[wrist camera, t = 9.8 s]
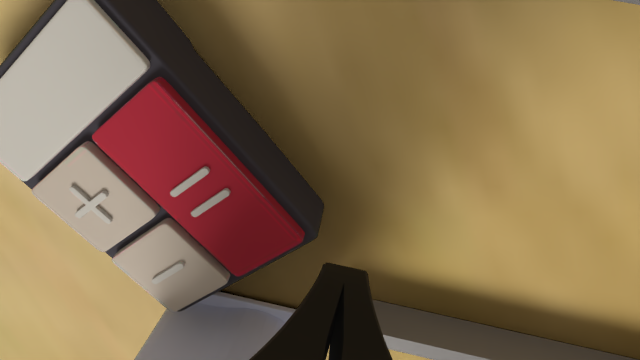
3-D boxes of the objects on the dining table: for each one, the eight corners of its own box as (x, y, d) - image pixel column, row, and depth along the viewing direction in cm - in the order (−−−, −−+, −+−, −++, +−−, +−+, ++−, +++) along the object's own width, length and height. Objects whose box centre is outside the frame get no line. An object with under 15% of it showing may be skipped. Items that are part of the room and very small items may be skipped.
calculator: (171, 325, 25) (-64, 129, 20) (198, 273, 29) (5, 97, 24) (320, 246, 21) (66, -31, 16) (329, 198, 24) (127, -40, 19)
